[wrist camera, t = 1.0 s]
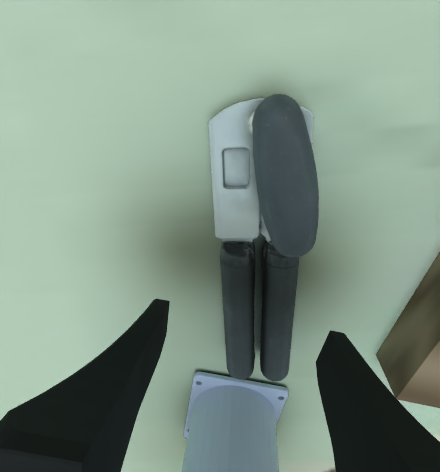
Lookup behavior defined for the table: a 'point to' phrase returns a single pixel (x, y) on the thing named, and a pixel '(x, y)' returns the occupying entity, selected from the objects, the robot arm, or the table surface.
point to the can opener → (262, 222)
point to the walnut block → (416, 345)
